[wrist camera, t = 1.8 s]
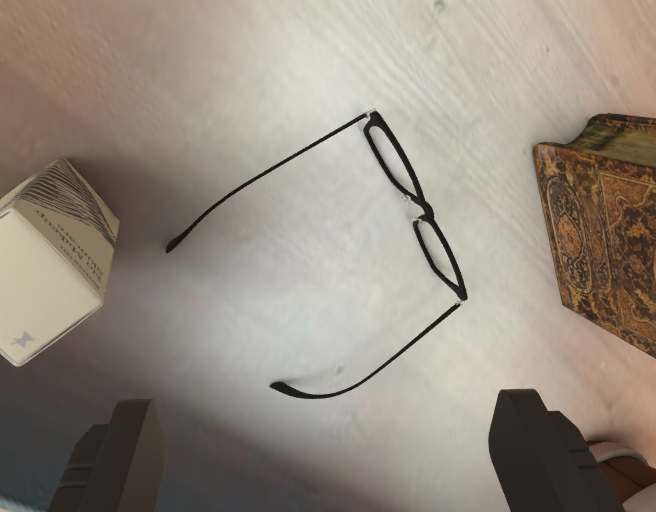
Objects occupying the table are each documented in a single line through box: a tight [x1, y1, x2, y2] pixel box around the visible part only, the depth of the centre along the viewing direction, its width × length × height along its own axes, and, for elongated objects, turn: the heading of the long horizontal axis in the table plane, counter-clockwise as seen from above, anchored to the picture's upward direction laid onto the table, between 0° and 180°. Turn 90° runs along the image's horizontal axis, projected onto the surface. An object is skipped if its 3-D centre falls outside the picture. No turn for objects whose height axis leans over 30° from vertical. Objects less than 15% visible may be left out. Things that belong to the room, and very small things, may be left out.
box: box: [0, 157, 120, 366], centre depth 26 cm, size 5×4×13 cm
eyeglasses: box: [166, 109, 468, 399], centre depth 36 cm, size 16×16×4 cm
